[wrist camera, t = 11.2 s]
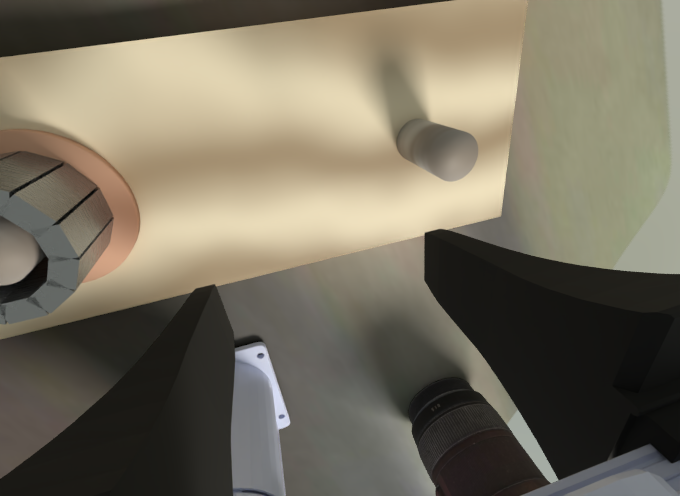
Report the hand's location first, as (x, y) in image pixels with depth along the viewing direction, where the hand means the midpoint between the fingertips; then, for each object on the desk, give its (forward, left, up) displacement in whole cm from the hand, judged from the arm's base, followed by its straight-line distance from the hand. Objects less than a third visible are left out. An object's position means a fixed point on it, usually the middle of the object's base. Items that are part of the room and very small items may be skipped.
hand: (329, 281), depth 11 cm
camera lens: (-24, -10, -10) cm, 28 cm away
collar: (+2, +11, -7) cm, 13 cm away
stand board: (+2, +2, -9) cm, 10 cm away
